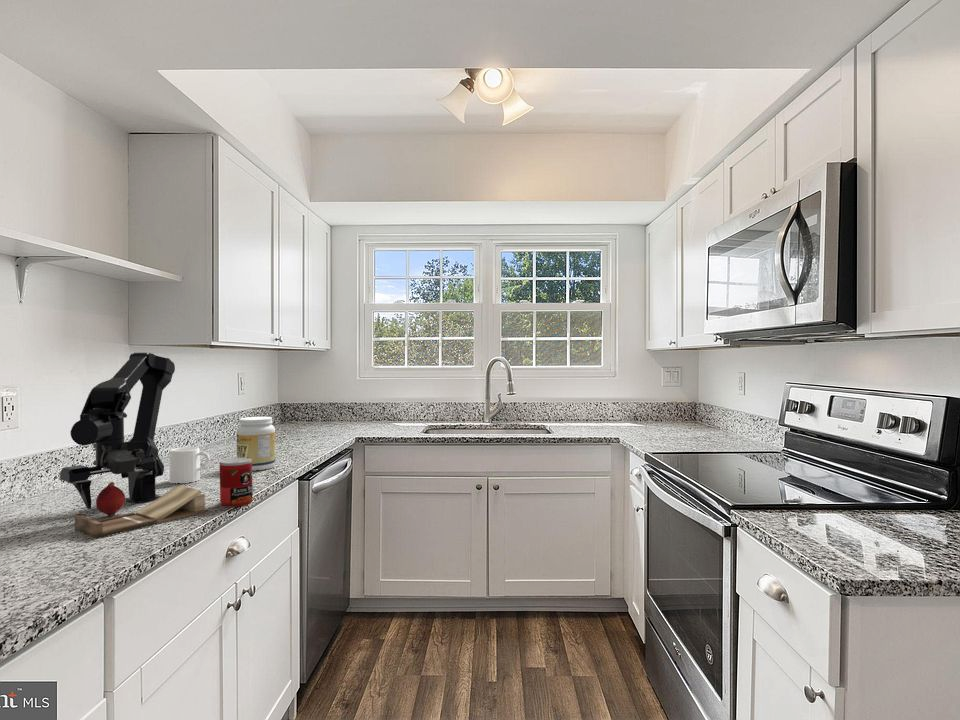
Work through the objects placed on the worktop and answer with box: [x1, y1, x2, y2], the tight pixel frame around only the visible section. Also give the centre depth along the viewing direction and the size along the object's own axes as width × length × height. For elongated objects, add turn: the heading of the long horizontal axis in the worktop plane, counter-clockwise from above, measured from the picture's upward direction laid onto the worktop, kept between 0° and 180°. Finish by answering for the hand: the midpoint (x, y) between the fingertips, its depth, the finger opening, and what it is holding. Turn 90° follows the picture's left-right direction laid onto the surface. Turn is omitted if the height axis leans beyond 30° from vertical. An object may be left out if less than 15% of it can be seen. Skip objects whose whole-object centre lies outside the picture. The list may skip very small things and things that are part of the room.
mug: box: [169, 446, 211, 485], centre depth 172 cm, size 8×12×10 cm
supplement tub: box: [236, 416, 276, 472], centre depth 192 cm, size 12×12×17 cm
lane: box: [74, 508, 205, 539], centre depth 130 cm, size 11×23×3 cm, turn 146°
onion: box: [95, 481, 126, 517], centre depth 135 cm, size 6×6×8 cm
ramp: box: [135, 484, 206, 520], centre depth 136 cm, size 10×11×6 cm
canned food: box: [219, 457, 254, 508], centre depth 146 cm, size 8×8×11 cm
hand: (111, 504), depth 135 cm, fingers open, 9 cm apart
